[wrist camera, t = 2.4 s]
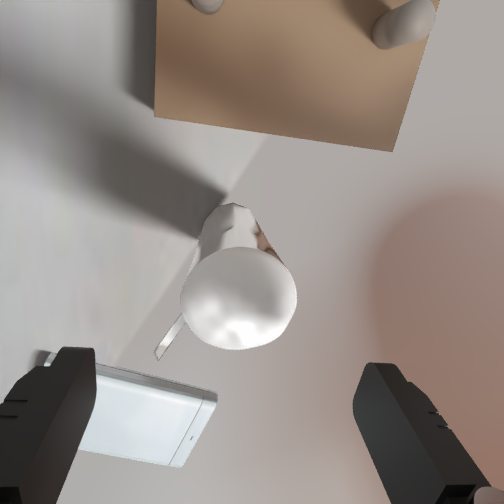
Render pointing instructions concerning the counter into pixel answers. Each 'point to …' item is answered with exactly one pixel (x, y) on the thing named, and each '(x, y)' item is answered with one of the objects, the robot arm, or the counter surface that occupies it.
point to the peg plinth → (292, 66)
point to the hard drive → (145, 416)
